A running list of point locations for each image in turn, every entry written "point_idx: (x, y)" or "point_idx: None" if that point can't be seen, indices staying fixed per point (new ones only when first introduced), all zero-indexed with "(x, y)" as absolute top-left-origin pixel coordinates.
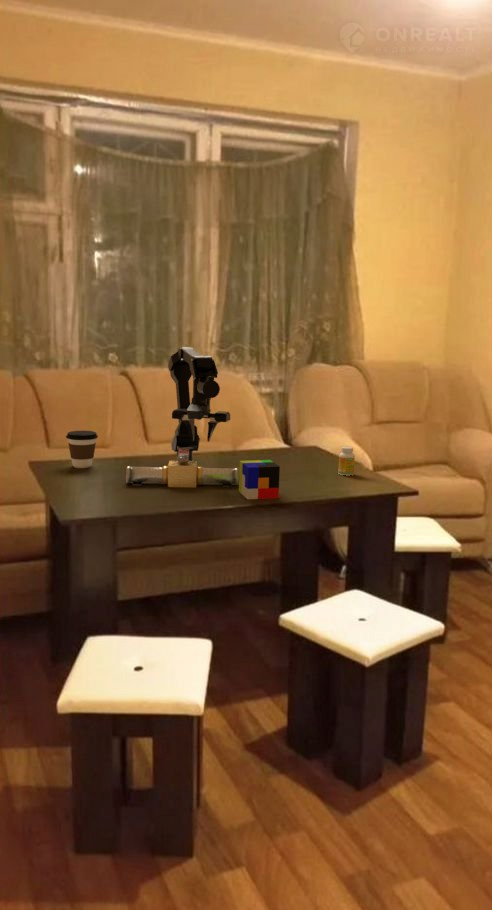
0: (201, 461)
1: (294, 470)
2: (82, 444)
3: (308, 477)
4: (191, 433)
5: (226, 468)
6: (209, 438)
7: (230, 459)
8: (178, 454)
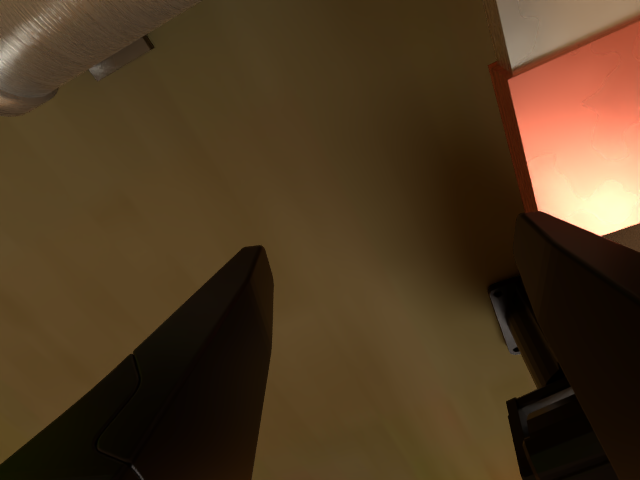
0: (493, 418)
1: None
2: None
3: None
4: (615, 268)
5: (7, 14)
6: (215, 276)
7: (386, 474)
8: (637, 13)
